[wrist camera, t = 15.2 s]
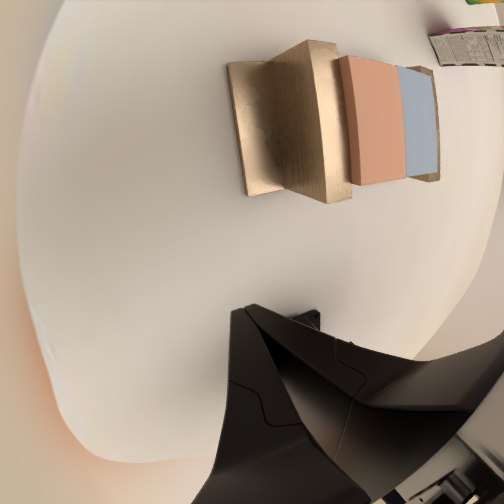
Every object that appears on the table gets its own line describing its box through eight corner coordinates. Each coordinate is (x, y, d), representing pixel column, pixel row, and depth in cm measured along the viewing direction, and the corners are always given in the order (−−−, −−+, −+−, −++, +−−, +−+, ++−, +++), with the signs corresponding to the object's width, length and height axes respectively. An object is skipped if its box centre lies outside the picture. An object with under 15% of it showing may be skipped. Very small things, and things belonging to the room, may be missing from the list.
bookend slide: (304, 183, 21) (352, 198, 16) (245, 195, 20) (282, 214, 15) (288, 63, 17) (335, 43, 12) (226, 65, 16) (257, 36, 11)
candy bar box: (451, 27, 20) (538, 28, 6) (463, 55, 23) (548, 62, 8) (425, 33, 19) (534, 31, 5) (439, 67, 22) (547, 75, 8)
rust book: (345, 165, 22) (405, 178, 16) (302, 171, 21) (361, 186, 15) (336, 77, 19) (397, 66, 13) (290, 75, 18) (348, 55, 12)
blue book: (379, 160, 23) (437, 172, 17) (345, 164, 22) (406, 176, 16) (371, 81, 20) (430, 76, 14) (335, 77, 19) (396, 65, 13)
